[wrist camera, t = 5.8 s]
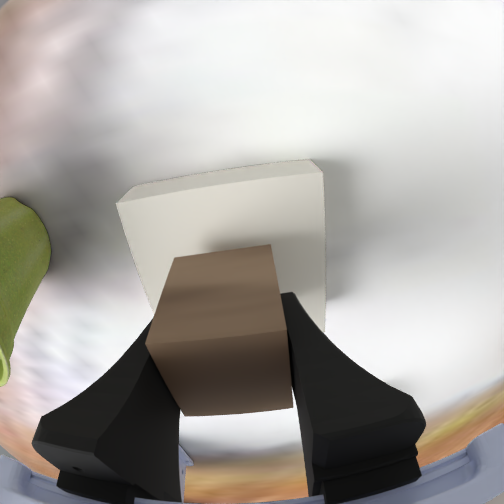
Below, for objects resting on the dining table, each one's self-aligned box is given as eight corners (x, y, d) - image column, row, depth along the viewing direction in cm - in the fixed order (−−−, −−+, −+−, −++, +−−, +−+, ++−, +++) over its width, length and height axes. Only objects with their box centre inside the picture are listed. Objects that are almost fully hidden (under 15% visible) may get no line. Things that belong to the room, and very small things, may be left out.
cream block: (314, 299, 19) (324, 331, 17) (176, 316, 20) (168, 349, 17) (308, 157, 15) (322, 172, 12) (135, 184, 15) (115, 203, 13)
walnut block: (279, 319, 14) (293, 407, 10) (196, 329, 14) (184, 416, 10) (270, 244, 12) (286, 329, 8) (174, 257, 13) (145, 343, 8)
